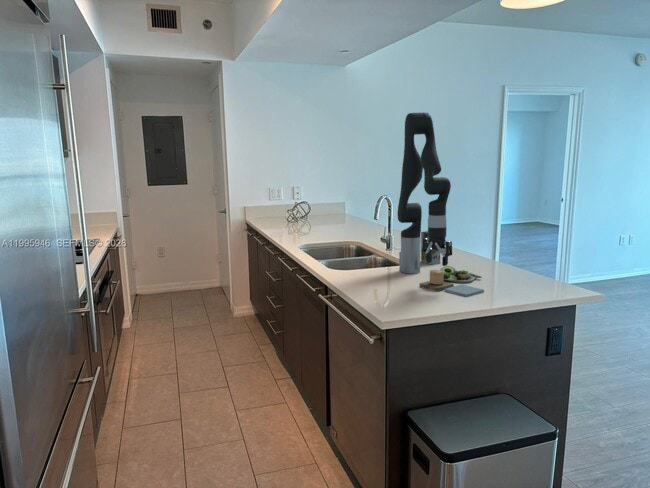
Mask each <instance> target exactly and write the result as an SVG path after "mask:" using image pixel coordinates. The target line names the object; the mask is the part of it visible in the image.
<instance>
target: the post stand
mask: <svg viewBox="0 0 650 488" xmlns="http://www.w3.org/2000/svg"><path fill="white" fill-rule="evenodd" d="M454 285H455V283H453V282H444V283H443V284H431V283H430V280H426V281H424V282H420V283H419V288H423V289H427V290H430V291H434V292H441V291H445V289H446V288H450V287H454Z"/></svg>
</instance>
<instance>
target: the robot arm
mask: <svg viewBox="0 0 650 488" xmlns="http://www.w3.org/2000/svg"><path fill="white" fill-rule="evenodd" d="M433 122H434V121H433V119H432V115H431V114H430V113H429V112H409V113H407V114H406V116H405V120H404V148H403V149H404V150H403V159H402V168H401V183H400V193H399V198H398V199H399V200H398V205H397V220H398V222H400V223H401V224H409V223H412V224H411V225H410V226H409V227H407V228H404V229H402V230H401V231H400V251H399V252H398V253H399V259H398V261H399V272H401V273H403V274H410V275H412V274H419V273H421V232H422V217H423V215H422V213H423V212H422V210H423V209H422V206H421V204H420V203H419V202H411V203H410V202H409V199H410V196H411V194H412V193H413V192H414V190H415V189H416V188H417V187H418V185H419V184H420V182H421V181H422V178H423V176H424V183H423V188H424V191H425V193H426V194H427V195H429V196H435V195H437V196H438V197H437V198H436V199H433V200H431V201H429V203H428V215H427V216H428V218H427V231H428V237H429V238H424V239H423V246H422V251H423V252H425V253H426V261H427V263H426V264H428V263H431V262H432V254H431V253H432V251H433V250H438V251H439V252H440V255H442V257H441V259H442V262H441V263H442V264H441V265H442V266H443V267H445V266H448V265H449V261H448V260H449V257H450V256H453V242H452V240H448V241H447V240H446V238H447V215H446V214H447V202H448V198H449V195H450V192H451V187H452V185H451V181H450V179H449V178H448V177H445V176H442V177H441V176H440V177H435V176H438V175H439V174H440V173H441V171H442V166H441V162H440V160H439V155H438V152H437V146H436V145H437V143H436V137H435V129H434V123H433ZM415 135H418V136H419V135H424V136H425V144H424V145H423V148H422V151H421V154H420V153H419V151H418V150H417V148H416V145H415ZM423 173H424V175H423ZM429 244H430V245H429ZM425 247H426V249H425Z"/></svg>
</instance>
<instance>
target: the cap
mask: <svg viewBox="0 0 650 488" xmlns="http://www.w3.org/2000/svg"><path fill="white" fill-rule="evenodd" d="M429 281H430V283H431V284H443V283H444V274H443V271H441V269H431V270H429Z"/></svg>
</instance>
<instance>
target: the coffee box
mask: <svg viewBox="0 0 650 488" xmlns="http://www.w3.org/2000/svg"><path fill="white" fill-rule="evenodd" d="M424 238H429V237H428V230H426V231H421V233H420V263H421V262H422V263H425V264H427V265H428V264H429V265H437V264H441V253H440V252H439V251H438V250H433V251H432V253H431V254H432V262H431V263H427V261H426V253H425V252H423V251H422V246H423V239H424ZM429 245H430V244H429ZM425 249H426V247H425Z"/></svg>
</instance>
